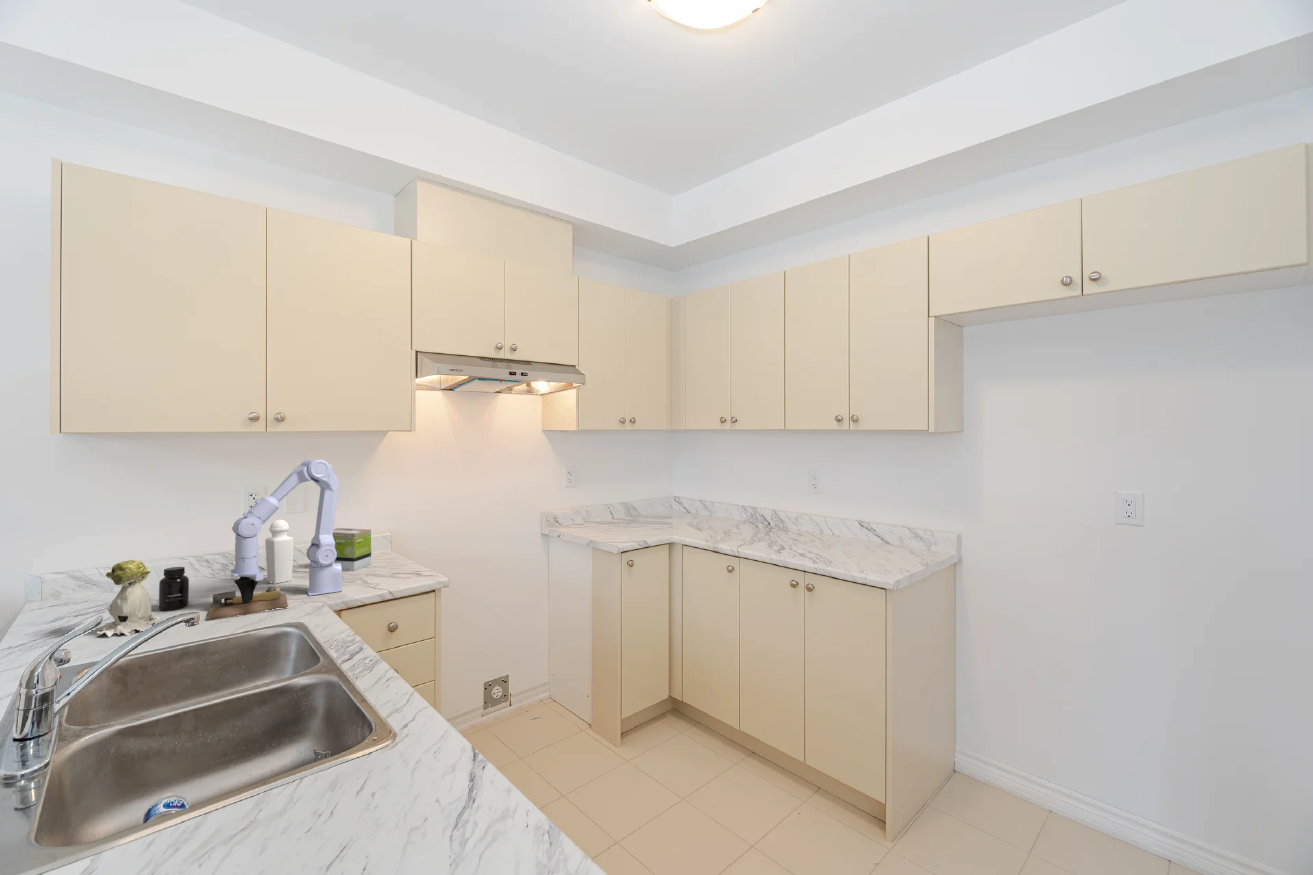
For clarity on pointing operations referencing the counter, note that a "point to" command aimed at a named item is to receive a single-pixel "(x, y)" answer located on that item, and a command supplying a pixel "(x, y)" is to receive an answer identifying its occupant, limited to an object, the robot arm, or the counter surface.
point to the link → (255, 597)
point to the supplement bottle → (173, 589)
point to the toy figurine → (129, 599)
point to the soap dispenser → (279, 553)
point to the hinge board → (242, 605)
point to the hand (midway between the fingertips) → (247, 601)
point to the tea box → (352, 548)
